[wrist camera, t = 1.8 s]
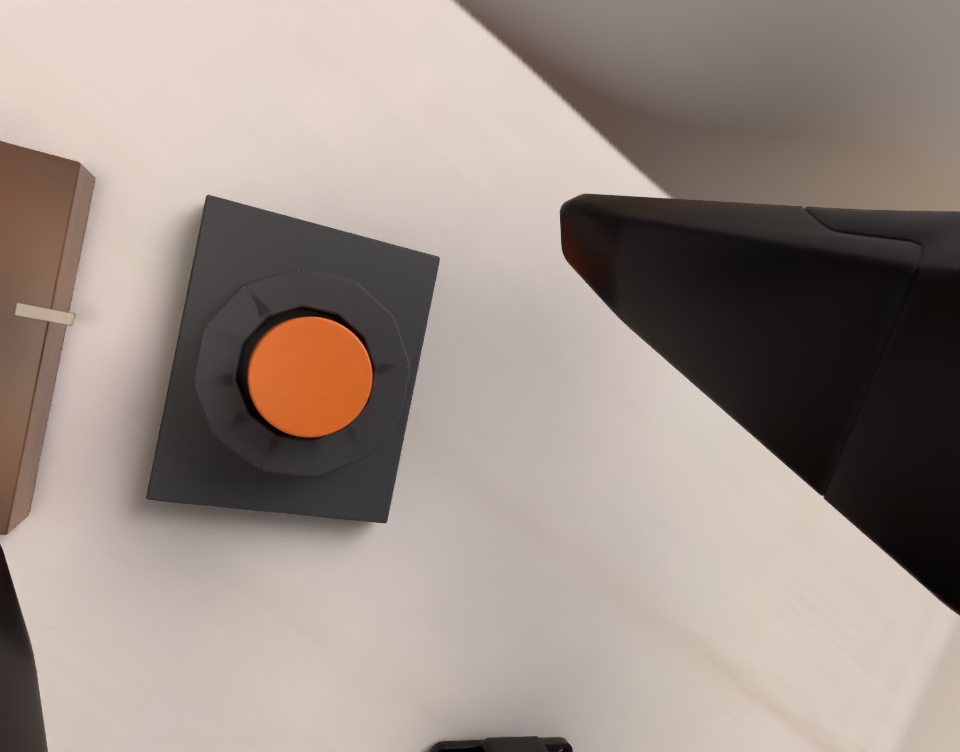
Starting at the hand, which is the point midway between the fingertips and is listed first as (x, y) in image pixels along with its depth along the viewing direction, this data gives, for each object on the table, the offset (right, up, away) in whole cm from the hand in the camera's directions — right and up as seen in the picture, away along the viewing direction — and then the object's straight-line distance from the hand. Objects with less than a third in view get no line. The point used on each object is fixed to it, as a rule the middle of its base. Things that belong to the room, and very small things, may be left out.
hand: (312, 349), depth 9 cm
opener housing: (-4, 0, +14) cm, 14 cm away
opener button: (-3, 0, +11) cm, 12 cm away
